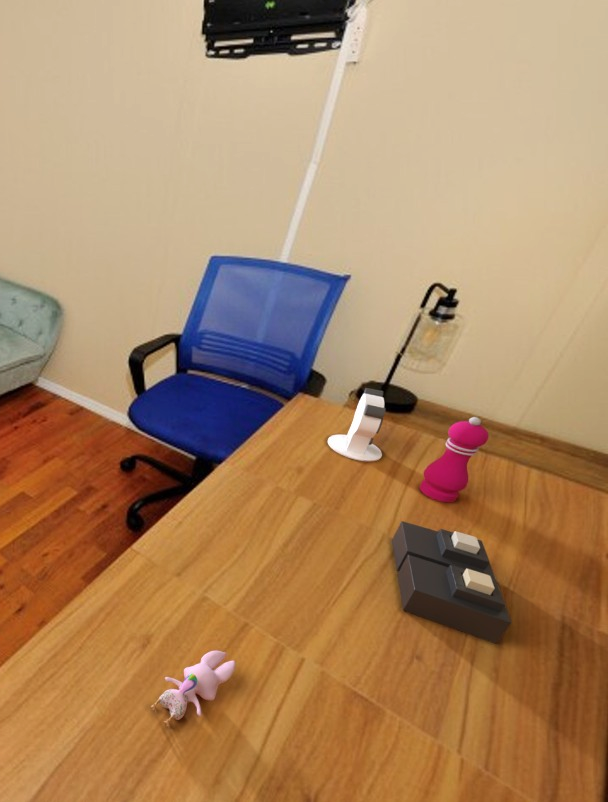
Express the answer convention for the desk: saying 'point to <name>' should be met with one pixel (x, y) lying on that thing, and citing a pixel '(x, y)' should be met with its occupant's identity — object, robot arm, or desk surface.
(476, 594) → the high key box
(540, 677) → the desk surface
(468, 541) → the low key
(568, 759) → the desk surface
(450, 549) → the low key box
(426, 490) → the pepper mill
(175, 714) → the rabbit figure
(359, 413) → the white curved stand
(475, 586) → the high key
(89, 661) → the desk surface
